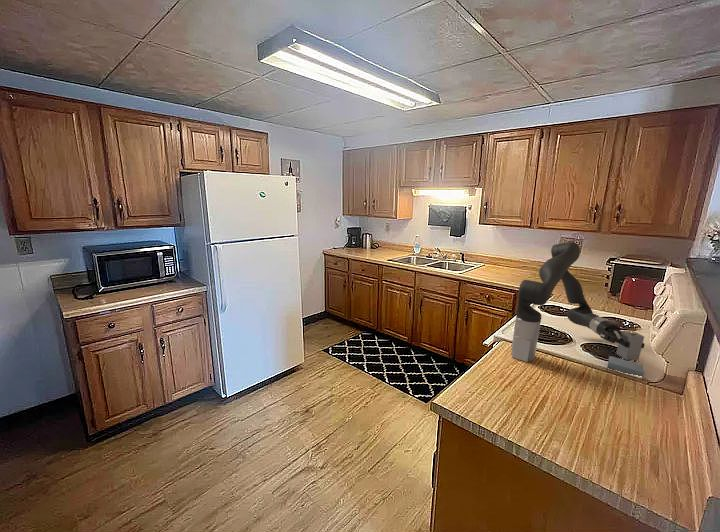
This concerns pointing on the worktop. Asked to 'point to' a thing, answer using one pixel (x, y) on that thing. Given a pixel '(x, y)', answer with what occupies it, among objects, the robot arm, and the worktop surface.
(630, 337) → the block
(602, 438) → the worktop surface
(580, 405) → the worktop surface
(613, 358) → the coupler plate
